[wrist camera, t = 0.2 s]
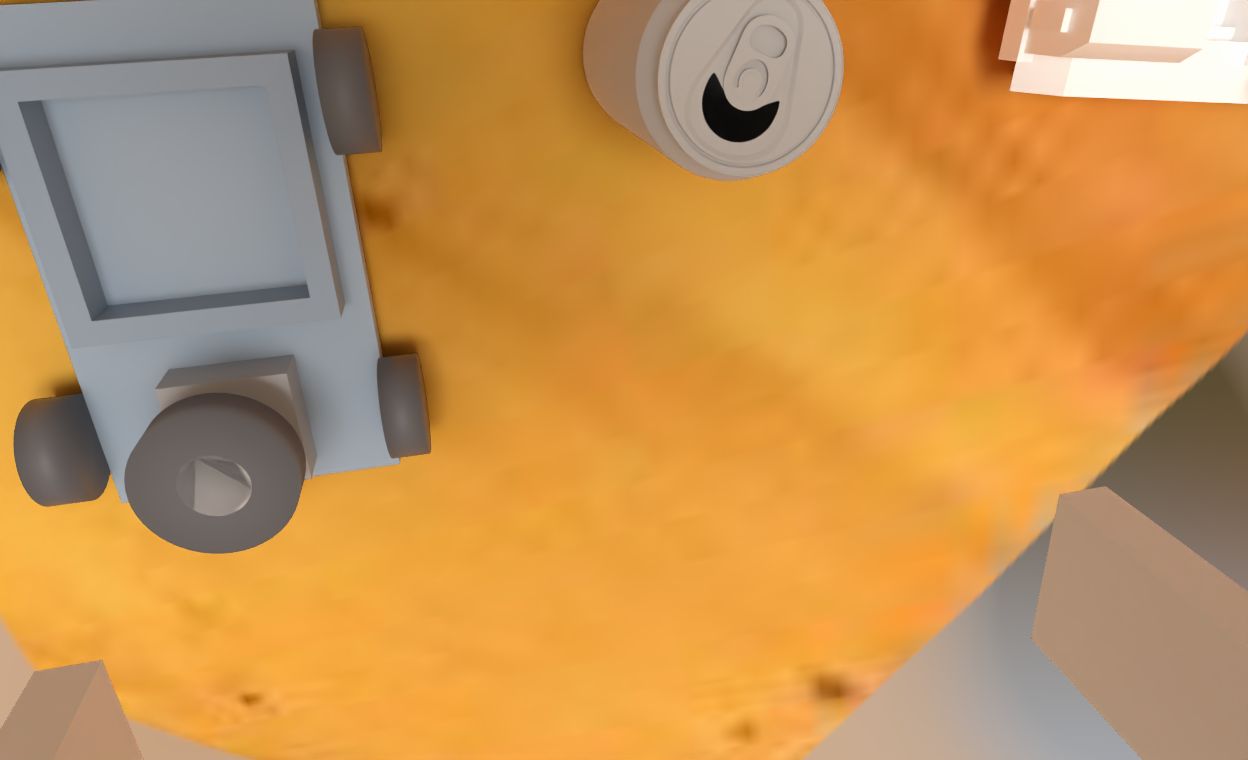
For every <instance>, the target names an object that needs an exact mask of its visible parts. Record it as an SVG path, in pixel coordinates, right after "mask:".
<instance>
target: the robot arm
mask: <svg viewBox="0 0 1248 760" xmlns="http://www.w3.org/2000/svg"><path fill="white" fill-rule="evenodd" d="M1031 639H1032V640H1033V641H1034V642H1035V643H1036V644H1037V646H1038V647H1039V648H1040V649H1041V650H1042V651H1043V652H1044V653H1045V654H1046V655H1047V656H1048V658H1049V659H1050V660H1051V661H1052V662H1053V663H1054V664H1055V665H1056V666H1057V667H1058V668H1059V670H1061V672H1062V673H1063V674H1064V675H1065V676H1066V677H1067V678H1068V679H1069V680H1070V682H1071V683H1072V684H1073V685H1074V686H1075V687H1076V688H1077V689H1078V690H1079V691H1080V692H1081V694H1082V695H1083V696H1084V697H1085V698H1086V699H1087V700H1088V701H1089V702H1090V703H1091V704H1092V705H1093V706H1094V708H1096V710H1097V711H1098V712H1099V713H1100V714H1101V715H1102V716H1103V717H1104V719H1105V720H1106V721H1107V722H1108V723H1109V724H1110V725H1111V726H1112V727H1113V728H1114V729H1115V731H1116V732H1117V733H1118V734H1119V735H1120V736H1121V737H1122V738H1123V739H1124V740H1125V741H1126V742H1127V743H1128V745H1130V747H1131V748H1132V749H1133V750H1134V751H1135V752H1136V753H1137V754H1138V756H1139V757H1140V758H1141V759H1142V760H1248V592H1247V591H1246V590H1245V589H1243V588H1242V587H1240V586H1239V585H1238V584H1236V583H1235V582H1234V581H1232V580H1231V579H1230V578H1228V577H1227V576H1226V575H1224V574H1223V573H1221V572H1220V571H1219V570H1218V569H1216V568H1215V567H1213V566H1212V565H1211V564H1210V563H1208V562H1207V561H1205V560H1204V559H1203V558H1201V557H1200V556H1198V555H1197V554H1196V553H1195V552H1193V551H1192V550H1190V549H1189V548H1188V547H1186V546H1185V545H1184V544H1182V543H1181V542H1180V541H1178V540H1177V539H1176V538H1174V537H1173V536H1172V535H1170V534H1169V533H1168V532H1166V531H1165V530H1164V529H1162V528H1161V527H1160V526H1158V525H1157V524H1156V523H1154V522H1153V521H1151V520H1150V519H1149V518H1147V517H1146V516H1144V515H1143V514H1142V513H1141V512H1139V511H1138V510H1136V509H1135V508H1134V507H1133V506H1131V505H1130V504H1129V503H1127V502H1126V501H1124V500H1123V499H1122V498H1120V497H1119V496H1118V495H1116V494H1115V493H1114V492H1112V491H1111V490H1109V489H1108V488H1107V487H1106V486H1105V487H1099V488H1093V489H1088V490H1082V491H1076V492H1070V493H1065V494H1059V499H1058V504H1057V509H1056V514H1055V519H1054V524H1053V530H1052V535H1051V539H1050V545H1049V550H1048V555H1047V560H1046V565H1045V570H1044V575H1043V580H1042V585H1041V590H1040V595H1039V600H1038V606H1037V611H1036V616H1035V621H1034V626H1033V631H1032V637H1031ZM0 760H144V759H143V757H142V754H141V752H140V750H139V747H138V745H137V743H136V740H135V738H134V735H133V733H132V731H131V728H130V726H129V723H128V721H127V719H126V716H125V714H124V711H123V709H122V707H121V704H120V702H119V699H118V697H117V695H116V692H115V690H114V687H113V685H112V683H111V680H110V678H109V676H108V673H107V671H106V668H105V666H104V664H103V661H102V660H99V661H93V662H87V663H82V664H76V665H70V666H64V667H59V668H53V669H47V670H41V671H35V672H34V673H33V675H32V676H31V678H30V680H29V682H28V683H27V685H26V687H25V689H24V690H23V692H22V694H21V696H20V697H19V699H18V700H17V702H16V704H15V706H14V707H13V709H12V711H11V712H10V714H9V716H8V717H7V720H6V721H5V723H4V724H3V726H2V728H1V729H0Z"/></svg>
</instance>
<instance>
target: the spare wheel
mask: <svg viewBox="0 0 1248 760" xmlns="http://www.w3.org/2000/svg"><path fill="white" fill-rule="evenodd" d="M305 472H306V456H305V451H304V448H303V445H302V442H301V440H300V438H299V436H298V434H297V433H296V431H295V430H294V428H293V427H292V426H291V425H290V423H289V422H288V421H287V420H286V419H285V418H284V417H283V416H281V415H280V414H279V413H278V412H276V411H275V410H273V409H272V408H270V407H269V406H267V405H265V404H263V403H261V402H259V401H257V400H254V399H251V398H248V397H245V396H241V395H236V394H230V393H204V394H199V395H194V396H190V397H187V398H184V399H182V400H179V401H177V402H175V403H173V404H171V405H170V406H168V407H167V408H165V409H164V410H163V411H161V412H160V413H159V414H158V415H157V416H156V417H155V418H154V419H153V420H152V421H151V423H150V424H149V426H148V427H147V429H146V430H145V432H144V434H143V435H142V437H141V438H140V440H139V441H138V443H137V444H136V446H135V447H134V449H133V450H132V452H131V454H130V456H129V458H128V461H127V464H126V468H125V475H124V484H125V491H126V495H127V499H128V501H129V503H130V505H131V508H132V509H133V511H134V512H135V514H136V516H137V517H138V518H139V519H140V520H141V522H142V523H143V524H144V525H145V526H146V527H147V528H149V529H150V530H151V531H152V532H153V533H155V534H156V535H158V536H159V537H160V538H162V539H164V540H166V541H168V542H169V543H172V544H174V545H176V546H179V547H182V548H185V549H188V550H192V551H197V552H203V553H233V552H238V551H243V550H247V549H250V548H253V547H255V546H258V545H260V544H262V543H264V542H266V541H267V540H269V539H271V538H272V537H274V536H275V535H276V534H277V533H279V532H280V531H281V530H282V529H283V528H284V527H285V526H286V525H287V523H288V522H289V520H290V519H291V518H292V516H293V514H294V512H295V510H296V507H297V504H298V501H299V497H300V493H301V489H302V486H303V482H304V478H305Z"/></svg>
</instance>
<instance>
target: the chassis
mask: <svg viewBox="0 0 1248 760" xmlns="http://www.w3.org/2000/svg"><path fill="white" fill-rule="evenodd" d="M381 151H382V134H381V123H380V115H379V107H378V100H377V93H376V87H375V81H374V75H373V69H372V64H371V59H370V54H369V50H368V45H367V41H366V37H365V34H364V31H363V28H362V27H344V28H327V29H322V25H321V19H320V14H319V8H318V3H317V0H91V1H72V2H52V3H33V4H14V5H0V171H1V168H2V169H3V172H4V174H5V177H6V180H7V183H8V186H9V188H10V191H11V194H12V197H13V200H14V202H15V205H16V208H17V211H18V214H19V216H20V219H21V222H22V225H23V228H24V230H25V233H26V236H27V239H28V242H29V244H30V247H31V250H32V253H33V256H34V258H35V261H36V264H37V267H38V270H39V272H40V275H41V278H42V281H43V284H44V287H45V289H46V292H47V295H48V298H49V301H50V303H51V306H52V309H53V312H54V315H55V317H56V320H57V323H58V326H59V329H60V331H61V334H62V337H63V340H64V343H65V345H66V348H67V351H68V354H69V357H70V359H71V362H72V365H73V368H74V371H75V373H76V376H77V379H78V382H79V385H80V387H81V390H82V393H83V394H74V395H65V396H57V397H49V398H41V399H34V400H31V401H29V402H28V403H26V404H25V405H24V407H23V408H22V409H21V411H20V413H19V415H18V418H17V421H16V425H15V430H14V456H15V462H16V467H17V471H18V474H19V477H20V480H21V482H22V484H23V486H24V488H25V490H26V492H27V493H28V494H29V496H30V497H31V498H32V499H33V500H34V501H35V502H37V503H38V504H40V505H42V506H56V505H63V504H71V503H78V502H85V501H92V500H95V499H97V498H99V497H100V496H101V495H102V493H103V492H104V490H105V488H106V486H107V483H108V480H109V475H110V471H111V474H112V477H113V480H114V483H115V485H116V488H117V491H118V494H119V497H120V499H121V502H122V503H126V502H129V501H128V499H127V495H126V491H125V484H124V475H125V468H126V464H127V461H128V458H129V456H130V454H131V452H132V450H133V449H134V447H135V446H136V444H137V443H138V441H139V440H140V438H141V437H142V435H143V434H144V432H145V430H146V429H147V427H148V426H149V424H150V423H151V421H152V420H153V419H154V418H155V417H156V416H157V415H158V414H159V413H160V412H161V411H163V410H164V409H165V408H167V407H168V406H170V405H171V404H173V403H175V402H177V401H179V400H182V399H184V398H187V397H190V396H194V395H199V394H204V393H230V394H236V395H241V396H245V397H248V398H251V399H254V400H257V401H259V402H261V403H263V404H265V405H267V406H269V407H270V408H272V409H273V410H275V411H276V412H278V413H279V414H280V415H281V416H283V417H284V418H285V419H286V420H287V421H288V422H289V423H290V425H291V426H292V427H293V428H294V430H295V431H296V433H297V434H298V436H299V438H300V440H301V442H302V445H303V448H304V451H305V456H306V472H305V478H304V480H306V479H312V476H318V475H325V474H332V473H339V472H346V471H353V470H360V469H367V468H374V467H382V466H389V465H396V464H400V457H407V456H414V455H422V454H429V453H430V452H431V436H430V424H429V414H428V406H427V398H426V391H425V385H424V379H423V373H422V368H421V363H420V359H419V356H418V354H417V353H414V354H406V355H397V356H389V357H383V355H382V349H381V344H380V339H379V333H378V328H377V322H376V317H375V311H374V306H373V301H372V295H371V290H370V284H369V279H368V274H367V268H366V263H365V257H364V252H363V246H362V241H361V236H360V230H359V225H358V219H357V214H356V209H355V203H354V198H353V192H352V187H351V182H350V176H349V171H348V165H347V160H346V155H349V154H361V153H373V152H381Z"/></svg>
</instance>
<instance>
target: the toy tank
mask: <svg viewBox="0 0 1248 760" xmlns="http://www.w3.org/2000/svg"><path fill="white" fill-rule="evenodd" d="M998 59H999V60H1007V61H1015V62H1016V65H1015V69H1014V74H1013V78H1012V82H1011V87H1010V91H1015V92H1025V93H1035V94H1045V95H1055V96H1069V97H1094V98H1119V99H1144V100H1169V101H1194V102H1218V103H1243V104H1248V0H1011V3H1010V7H1009V12H1008V17H1007V21H1006V26H1005V30H1004V35H1003V39H1002V44H1001V48H1000V53H999V58H998Z"/></svg>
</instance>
